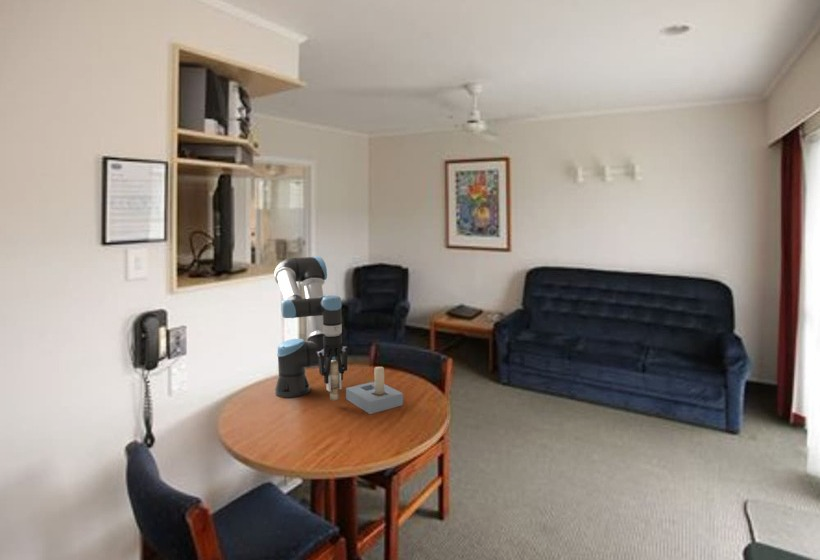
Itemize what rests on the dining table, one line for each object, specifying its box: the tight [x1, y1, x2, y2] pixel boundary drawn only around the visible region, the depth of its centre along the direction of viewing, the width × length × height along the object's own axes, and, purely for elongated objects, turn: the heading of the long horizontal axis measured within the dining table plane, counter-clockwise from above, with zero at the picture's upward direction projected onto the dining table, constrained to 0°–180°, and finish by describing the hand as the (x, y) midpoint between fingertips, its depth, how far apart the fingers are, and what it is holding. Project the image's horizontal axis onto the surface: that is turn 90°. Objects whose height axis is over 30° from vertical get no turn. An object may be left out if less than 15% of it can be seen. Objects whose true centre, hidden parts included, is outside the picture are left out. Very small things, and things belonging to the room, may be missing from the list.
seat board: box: [345, 366, 404, 415], centre depth 203 cm, size 20×16×16 cm
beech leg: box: [329, 360, 339, 401], centre depth 198 cm, size 4×4×16 cm
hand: (333, 389), depth 199 cm, fingers closed on beech leg, 4 cm apart
